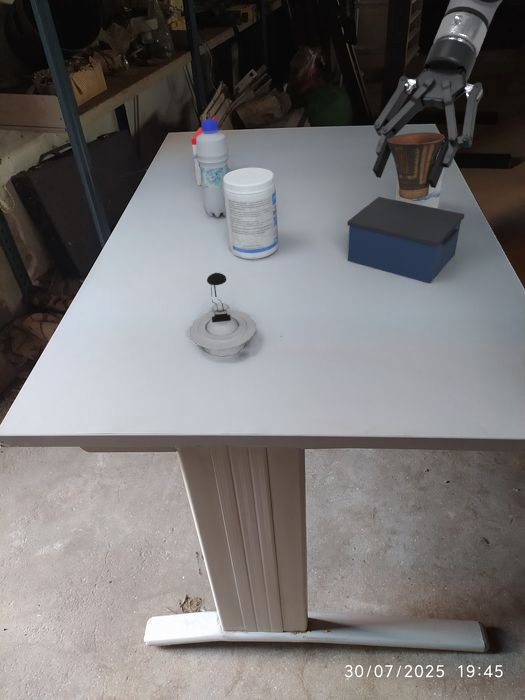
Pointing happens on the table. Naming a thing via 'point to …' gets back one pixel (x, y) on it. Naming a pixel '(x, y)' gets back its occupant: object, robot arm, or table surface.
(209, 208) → the bottle
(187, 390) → the table surface
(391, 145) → the cup
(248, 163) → the table surface
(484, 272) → the table surface
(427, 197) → the ink box
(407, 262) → the storage box
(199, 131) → the spray bottle
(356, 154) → the table surface
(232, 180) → the supplement tub
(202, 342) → the round stand with stem
